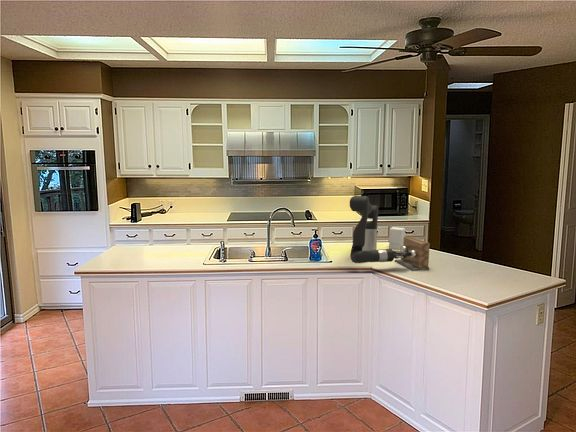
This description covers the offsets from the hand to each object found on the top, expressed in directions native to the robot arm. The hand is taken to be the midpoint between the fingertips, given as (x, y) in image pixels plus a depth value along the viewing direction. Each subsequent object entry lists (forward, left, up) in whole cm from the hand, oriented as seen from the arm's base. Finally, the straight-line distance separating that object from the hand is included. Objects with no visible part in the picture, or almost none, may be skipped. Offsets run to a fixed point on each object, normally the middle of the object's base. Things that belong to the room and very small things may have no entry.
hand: (410, 254), depth 259 cm
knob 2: (+3, +3, -2) cm, 5 cm away
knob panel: (-1, +7, -9) cm, 12 cm away
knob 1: (-4, +12, -2) cm, 13 cm away
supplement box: (-19, +50, -9) cm, 54 cm away
